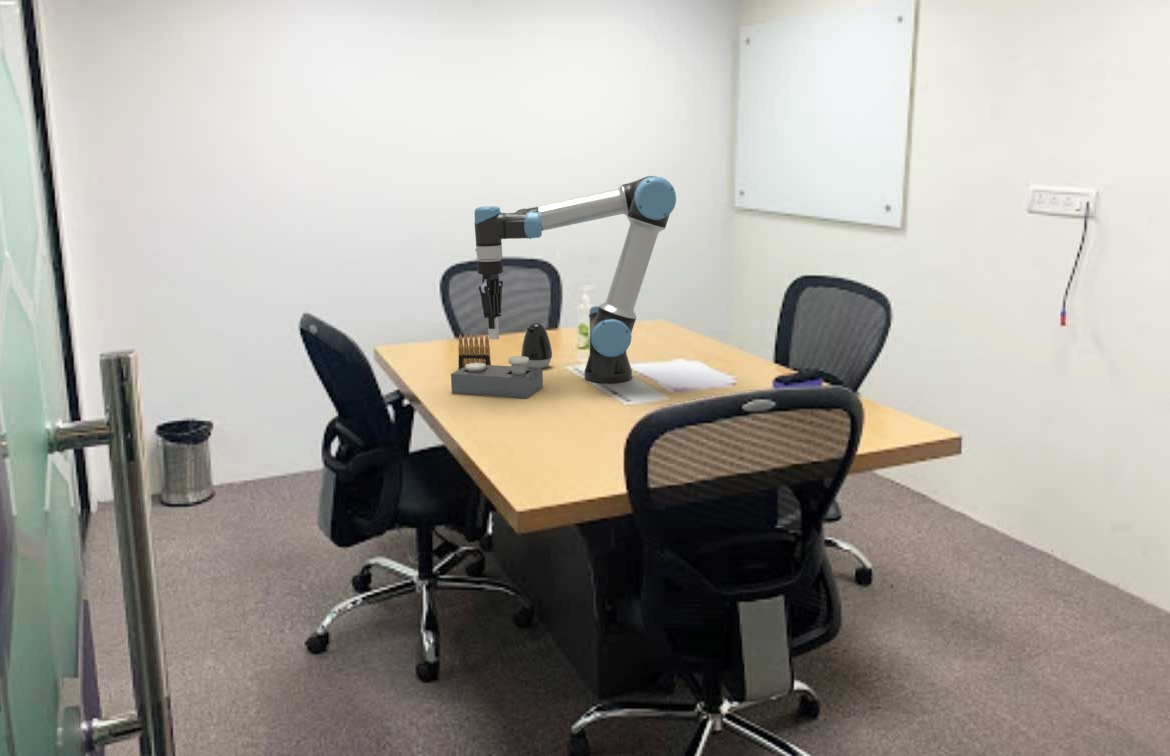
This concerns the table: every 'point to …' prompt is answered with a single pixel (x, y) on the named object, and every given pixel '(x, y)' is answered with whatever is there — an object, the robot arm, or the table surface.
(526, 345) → the pump dispenser
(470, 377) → the housing
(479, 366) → the knob far
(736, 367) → the table surface
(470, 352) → the ammunition clip
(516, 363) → the knob near
